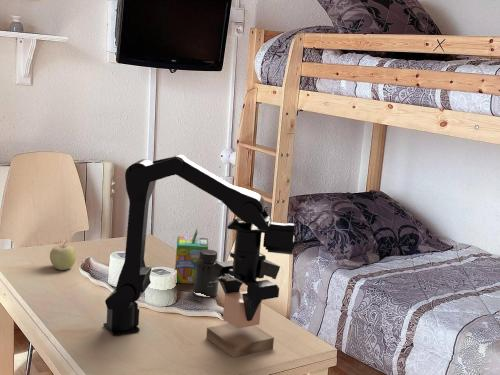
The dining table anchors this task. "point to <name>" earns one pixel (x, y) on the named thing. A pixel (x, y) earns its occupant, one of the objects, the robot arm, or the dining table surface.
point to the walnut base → (239, 339)
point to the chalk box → (188, 256)
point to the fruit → (63, 257)
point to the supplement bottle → (205, 274)
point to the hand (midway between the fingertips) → (241, 315)
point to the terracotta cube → (238, 311)
